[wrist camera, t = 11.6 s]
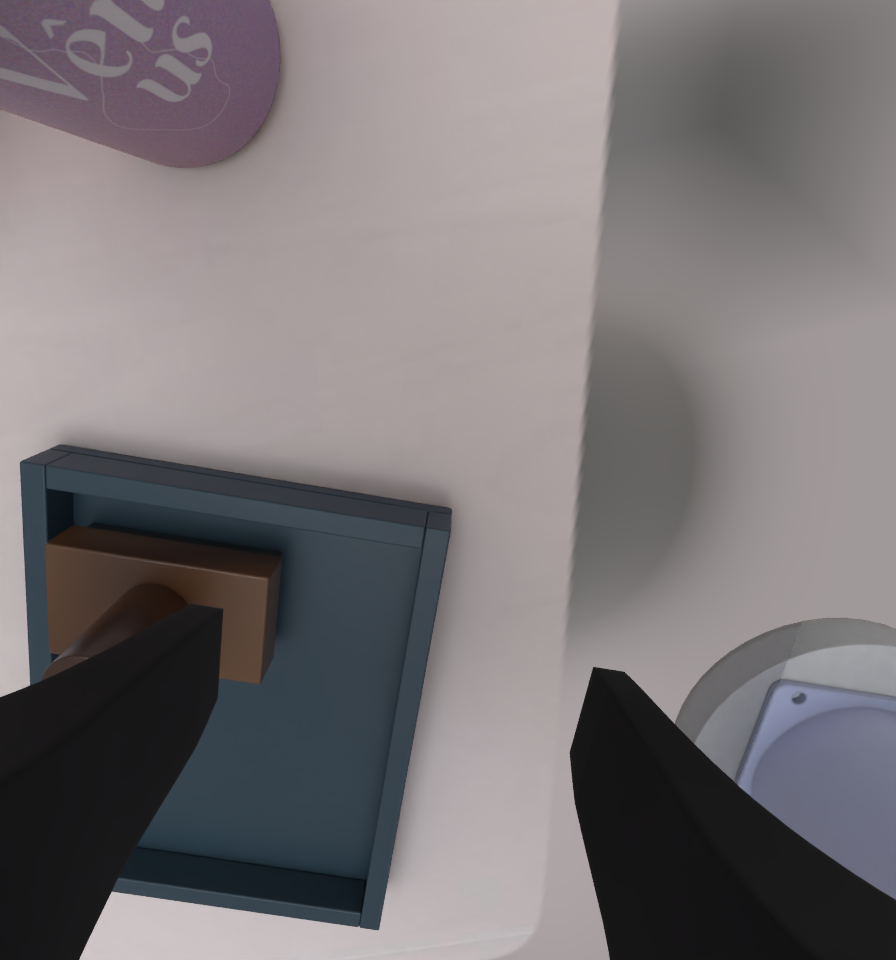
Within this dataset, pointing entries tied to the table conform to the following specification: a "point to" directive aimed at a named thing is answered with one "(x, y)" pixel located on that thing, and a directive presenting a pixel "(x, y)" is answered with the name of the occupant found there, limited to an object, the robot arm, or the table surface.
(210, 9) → the beverage can
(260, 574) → the wooden stamp
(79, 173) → the table surface
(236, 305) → the table surface
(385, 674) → the tray
